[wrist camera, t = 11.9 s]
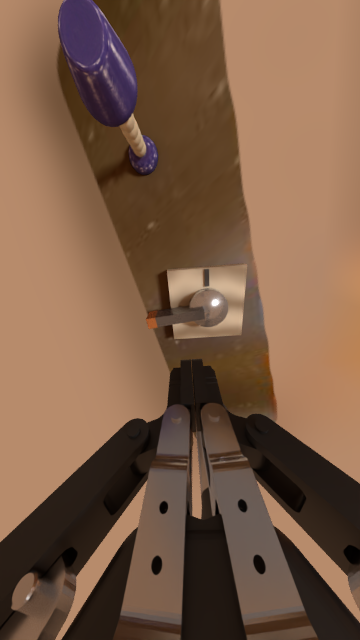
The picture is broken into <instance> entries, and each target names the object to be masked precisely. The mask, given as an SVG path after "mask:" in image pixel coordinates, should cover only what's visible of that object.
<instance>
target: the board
mask: <svg viewBox="0 0 360 640" xmlns="http://www.w3.org/2000/svg"><path fill="white" fill-rule="evenodd" d="M246 272H247V264H243V263H242V264H230V265H218V266H205V267H193V268H180V269H168V270H167V276H168V286H169V295H170V304H171V308H177V307H182V306H188V305H189V302H190V299H191V298H192V296H193V295H194V294H195V293H196V292H197V291H199V290H201V289H204V288H213V289H216V290H218V291H219V292H221V293H222V295H223V296H224V297H225V298H226V300H227V302H228V313H227V316H226V318H225V319H224V320H223V321H222V322H221V323H220V324H218V325H216V326H213V327H202V326H200V325H198V324H196V323H195V322H194V321H191V322H185V323H179V324H173V332H174V339H183V338H199V337H215V336H230V335H241V331H242V319H243V307H244V295H245V284H246Z"/></svg>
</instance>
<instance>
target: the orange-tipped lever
mask: <svg viewBox="0 0 360 640" xmlns="http://www.w3.org/2000/svg"><path fill="white" fill-rule="evenodd" d="M227 313H228V302H227V300H226V298H225V297H224V296H223V295H222V293H221V292H219V291H218V290H216V289H213V288H204V289H201V290H199V291H197V292H196V293H195V294H194V295H193V296H192V298H191V299H190V302H189V305H188V306H182V307H177V308H171V309H165V310H159V311H158V310H157V311H152V312H149V314H148V316H147V318H146V321H147V324H148V327H149V329H151V328H157V327H161V326H167V325H173V324H179V323H185V322H191V321H194V322H195V323H196V324H198V325H200V326H202V327H213V326H216V325H218V324H220V323H221V322H222V321H223V320H224V319H225V318H226V316H227Z"/></svg>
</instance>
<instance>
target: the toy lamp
mask: <svg viewBox="0 0 360 640" xmlns="http://www.w3.org/2000/svg"><path fill="white" fill-rule="evenodd" d="M58 32H59V38H60V42H61V46H62V49H63V53H64V56H65V58H66V61H67V64H68V66H69V69H70V71H71V74H72V77H73V79H74V82H75V84H76V87H77V89H78V92H79V94H80V97H81V99H82V101H83V103H84V105H85V106H86V108H87V109H88V111H89V112H90V113H91V115H92V116H93V117H94V118H95V119H96V120H97V121H99V122H100V123H102V124H103V125H106V126H110V127H118V126H119V127H120V128H121V129H122V132H123V134H124V136H125V137H126V139H127V141H128V143H129V144H130V146H129V159H130V162H131V165H132V166H133V168H134V169H135V170H136V171H137V172H138V173H140V174H143V175H148V174H150V173H152V172H153V171H154V169H155V168H156V166H157V162H158V152H157V148H156V146H155V144H154V143H153V141H152V140H151V139H150V138H148V137H146V136H144V135H141V132H140V130H139V128H138V125H137V122H136V120H135V119H134V115H133V111H134V108H135V105H136V100H137V79H136V74H135V70H134V66H133V64H132V61H131V59H130V57H129V55H128V53H127V51H126V49H125V47H124V46H123V44H122V43H121V41H120V39H119V38H118V36H117V35H116V33H115V31H114V30H113V28H112V27H111V25H110V24H109V22H108V21H107V19H106V18H105V16H104V14H103V13H102V11H101V10H100V9H99V8H98V6H97V5H96V4H95V3H94V2H93V1H92V0H64V1H63V3H62V5H61V7H60V10H59V16H58Z"/></svg>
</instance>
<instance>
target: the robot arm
mask: <svg viewBox="0 0 360 640" xmlns="http://www.w3.org/2000/svg"><path fill="white" fill-rule="evenodd" d="M192 374H193V381H192ZM193 388H194V394H193ZM194 400H195V407H194ZM195 421H196V424H195ZM193 432H196V435H197V448H198V461H199V474H200V484H201V498H202V517H201V519H198V518H196V517H193V516H192V446H193ZM147 479H148V480H147ZM256 480H257V481H258V482H259V483H260V484H261V485H262V486H263V487H264V488H265V489H266V490H267V491H268V493H269V494H270V495H271V496H272V497H273V498H274V499H275V500H276V501H277V502H278V503H279V504H280V505H281V506H282V507H283V508H284V509H285V510H286V512H287V513H288V514H289V515H290V516H291V517H292V518H293V519H294V520H295V521H296V522H297V523H298V524H299V525H300V526H301V527H302V528H303V529H304V531H306V533H307V534H308V535H309V536H310V537H311V538H312V539H313V540H314V541H315V542H316V543H317V544H318V545H319V546H320V547H321V548H322V549H323V550H324V552H325V553H326V554H327V555H328V556H329V557H330V558H331V559H332V560H333V561H334V562H335V563H336V564H337V565H338V566H339V567H340V568H341V570H343V572H344V573H345V574H346V575H347V576H348V582H349V587H350V590H351V593H352V595H353V598H354V600H355V602H356V604H357V606H358V608H359V610H360V484H359V483H358V482H357V481H355V480H354V479H353V478H351V477H350V476H348V475H347V474H345V473H344V472H343V471H341V470H340V469H339V468H337V467H336V466H335V465H333V464H332V463H330V462H329V461H328V460H326V459H325V458H323V457H322V456H321V455H319V454H318V453H316V452H315V451H314V450H312V449H311V448H310V447H308V446H307V445H305V444H304V443H302V442H301V441H300V440H298V439H297V438H296V437H294V436H293V435H291V434H290V433H289V432H287V431H286V430H285V429H283V428H282V427H280V426H279V425H278V424H276V423H275V422H273V421H272V420H271V419H269V418H268V417H266V416H264V415H261V414H252V415H250V416H248V418H243V417H239V416H236V415H233V414H232V413H230V412H229V411H228V410H227V408H226V406H225V405H224V404H223V402H222V399H221V395H220V391H219V387H218V383H217V379H216V375H215V371H214V370H213V369H212V368H211V366H203V362H202V359H192V369H191V360H181V368H173V370H172V371H171V373H170V382H169V393H168V406H167V409H166V411H165V413H164V414H163V415H162V416H161V417H160V418H158V419H156V420H153V421H151V422H148V423H146V421H144V420H143V419H138V418H137V419H133V420H130V421H129V422H127V423H126V424H125V425H124V426H123V427H122V428H121V429H120V430H119V431H118V432H117V433H115V434H114V435H113V436H112V437H111V438H110V439H109V440H108V441H107V442H106V443H105V444H104V445H103V446H102V447H101V448H100V449H99V450H98V451H96V452H95V454H93V455H92V456H91V457H90V458H89V459H88V460H87V461H86V462H85V463H84V464H83V465H82V466H81V467H80V468H78V470H77V471H75V472H74V473H73V474H72V475H71V476H70V477H69V478H68V479H67V480H66V481H65V482H64V483H63V484H62V485H61V486H59V487H58V488H57V489H56V490H55V491H54V492H53V493H52V494H51V495H50V496H49V497H48V498H47V499H46V500H45V501H44V502H43V503H42V504H40V505H39V506H38V507H37V508H36V509H35V510H34V511H33V512H32V513H31V514H30V515H29V516H28V517H27V518H26V519H25V520H24V521H22V522H21V523H20V524H19V525H18V526H17V527H16V528H15V529H14V530H13V531H12V532H11V533H10V534H9V535H8V536H7V537H6V538H5V539H3V540H2V541H1V542H0V640H55V639H56V636H57V635H58V633H59V631H60V629H61V627H62V626H63V624H64V622H65V621H66V618H67V616H68V614H69V612H70V609H71V606H72V603H73V600H74V596H75V591H76V576H77V575H78V573H79V572H80V571H81V569H82V568H83V567H84V565H85V564H86V563H87V561H88V560H89V559H90V557H91V556H92V554H93V553H94V552H95V550H96V549H97V547H98V546H99V545H100V543H101V542H102V541H103V539H104V538H105V537H106V535H107V534H108V533H109V531H110V530H111V528H112V527H113V525H114V524H115V523H116V522H117V520H118V519H119V518H120V516H121V515H122V513H123V512H124V511H125V509H126V508H127V507H128V505H129V504H130V503H131V501H132V500H133V498H134V497H135V496H136V494H137V493H138V492H139V490H140V489H141V487H142V486H143V485H144V483H145V482H146V481H147V485H146V491H145V495H144V500H143V505H142V510H141V516H140V520H139V525H138V527H137V528H136V529H135V530H134V531H133V532H132V533H131V534H130V535H129V536H128V537H127V538H126V540H125V541H124V542H123V543H122V545H121V547H120V548H119V549H118V551H117V552H116V554H115V556H114V557H113V559H112V560H111V562H110V563H109V565H108V567H107V568H106V570H105V571H104V573H103V575H102V576H101V578H100V579H99V581H98V583H97V584H96V586H95V588H94V589H93V590H92V592H91V594H90V595H89V597H88V598H87V600H86V602H85V603H84V605H83V606H82V608H81V610H80V611H79V613H78V614H77V616H76V618H75V619H74V621H73V622H72V624H71V625H70V627H69V629H68V630H67V632H66V633H65V635H64V636H63V638H62V640H360V623H359V621H358V620H357V619H356V618H355V617H354V616H353V614H352V613H351V612H350V611H349V609H348V608H347V607H346V606H345V605H344V604H343V602H342V601H341V600H340V599H339V597H338V596H337V595H336V594H335V593H334V592H333V590H332V589H331V588H330V587H329V585H328V584H327V583H326V582H325V581H324V580H323V578H322V577H321V576H320V575H319V573H318V572H317V571H316V570H315V569H314V568H313V566H312V565H311V564H310V563H309V561H308V560H307V559H306V558H305V557H304V555H303V554H302V553H301V552H300V551H299V549H298V548H297V547H296V546H295V545H294V544H293V542H292V541H291V540H290V539H289V538H287V536H285V534H283V533H282V532H281V531H280V530H279V529H277V528H276V527H274V526H273V524H272V521H271V519H270V516H269V513H268V511H267V508H266V505H265V503H264V500H263V497H262V495H261V492H260V490H259V487H258V484H257V481H256Z"/></svg>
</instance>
